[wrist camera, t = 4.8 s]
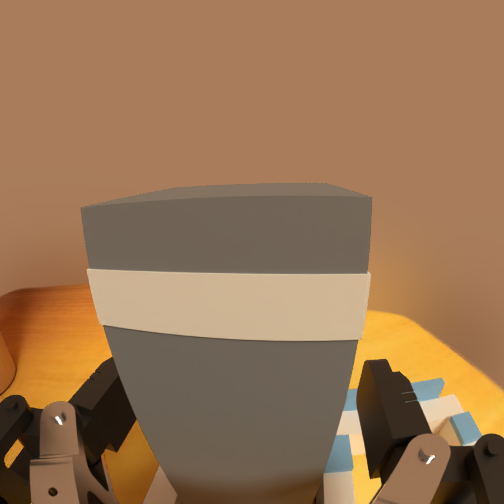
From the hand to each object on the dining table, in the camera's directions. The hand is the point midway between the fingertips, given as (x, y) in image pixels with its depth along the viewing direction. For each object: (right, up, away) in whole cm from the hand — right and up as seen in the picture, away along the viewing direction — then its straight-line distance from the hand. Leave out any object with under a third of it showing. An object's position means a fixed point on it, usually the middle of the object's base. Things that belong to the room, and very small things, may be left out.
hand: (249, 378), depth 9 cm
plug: (0, -9, +2) cm, 10 cm away
